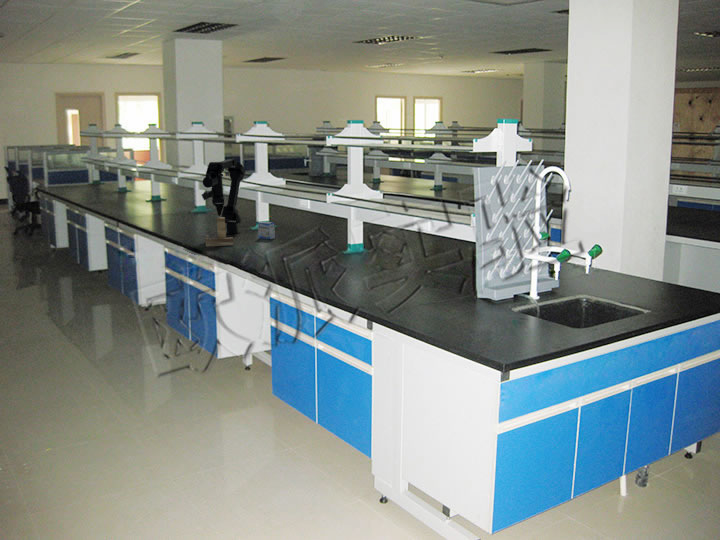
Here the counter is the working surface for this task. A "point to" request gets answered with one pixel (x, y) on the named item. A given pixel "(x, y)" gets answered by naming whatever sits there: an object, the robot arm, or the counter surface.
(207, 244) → the lock board
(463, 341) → the counter surface
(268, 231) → the medicine box
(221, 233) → the oak plank block
